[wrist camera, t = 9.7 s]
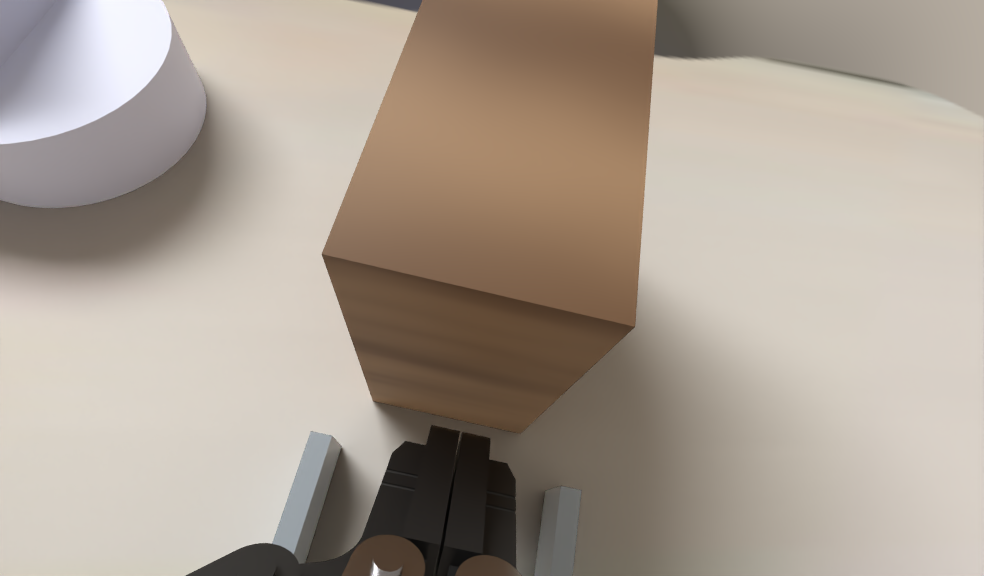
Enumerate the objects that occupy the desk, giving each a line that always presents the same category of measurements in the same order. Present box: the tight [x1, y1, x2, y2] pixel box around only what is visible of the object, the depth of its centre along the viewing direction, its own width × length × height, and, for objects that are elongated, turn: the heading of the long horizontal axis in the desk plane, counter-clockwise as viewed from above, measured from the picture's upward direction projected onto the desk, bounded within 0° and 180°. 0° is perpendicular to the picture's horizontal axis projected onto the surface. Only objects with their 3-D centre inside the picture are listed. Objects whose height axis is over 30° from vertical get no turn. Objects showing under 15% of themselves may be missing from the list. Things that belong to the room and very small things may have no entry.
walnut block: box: [322, 0, 658, 434], centre depth 14 cm, size 9×5×10 cm, turn 169°
